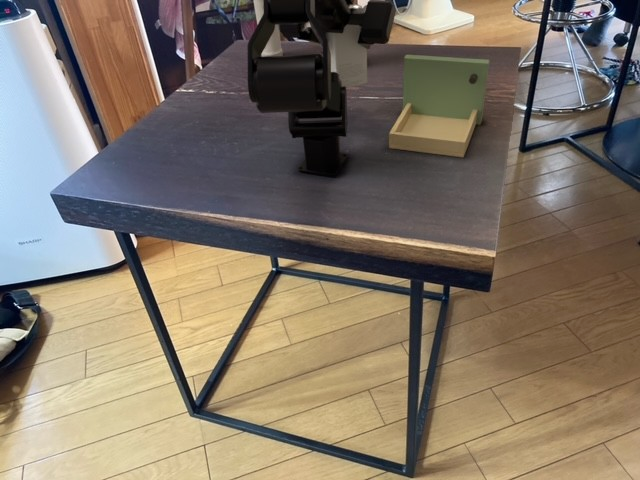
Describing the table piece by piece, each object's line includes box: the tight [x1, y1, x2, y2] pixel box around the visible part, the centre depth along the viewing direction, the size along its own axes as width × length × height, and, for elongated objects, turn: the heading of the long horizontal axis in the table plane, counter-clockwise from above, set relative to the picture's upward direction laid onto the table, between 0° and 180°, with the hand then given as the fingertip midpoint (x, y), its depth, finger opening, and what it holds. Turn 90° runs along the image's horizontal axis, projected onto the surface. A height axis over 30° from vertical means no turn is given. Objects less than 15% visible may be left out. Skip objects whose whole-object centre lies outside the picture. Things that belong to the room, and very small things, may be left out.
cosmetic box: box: [326, 25, 368, 89], centre depth 91 cm, size 6×4×12 cm
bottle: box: [253, 0, 284, 57], centre depth 117 cm, size 5×5×25 cm
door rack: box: [388, 54, 491, 158], centre depth 87 cm, size 13×14×11 cm
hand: (349, 44), depth 92 cm, fingers closed on cosmetic box, 7 cm apart
